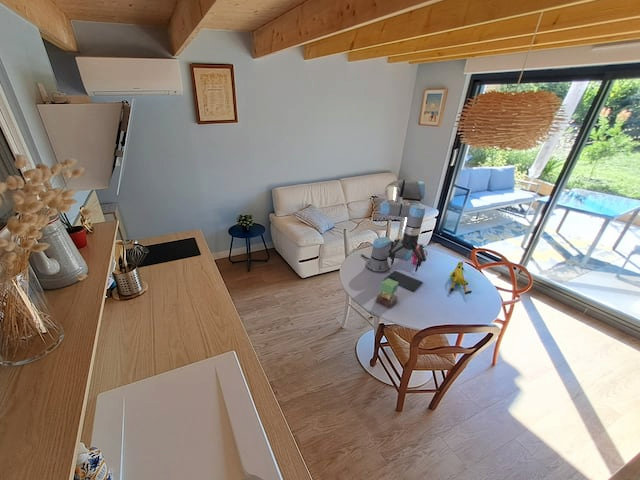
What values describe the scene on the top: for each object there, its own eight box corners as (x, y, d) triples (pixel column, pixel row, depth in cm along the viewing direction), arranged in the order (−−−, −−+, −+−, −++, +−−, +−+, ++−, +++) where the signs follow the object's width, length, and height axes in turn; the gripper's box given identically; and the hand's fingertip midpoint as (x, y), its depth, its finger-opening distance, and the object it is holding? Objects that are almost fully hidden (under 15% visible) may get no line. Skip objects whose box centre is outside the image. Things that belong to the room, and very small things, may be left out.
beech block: (381, 296, 176) (382, 290, 173) (385, 292, 179) (386, 287, 176) (389, 300, 173) (390, 294, 170) (393, 296, 176) (394, 290, 173)
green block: (380, 290, 173) (382, 282, 170) (386, 285, 178) (387, 277, 175) (391, 295, 169) (393, 287, 166) (396, 290, 173) (398, 282, 170)
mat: (385, 279, 198) (385, 278, 198) (394, 271, 207) (394, 270, 207) (413, 291, 186) (413, 290, 186) (422, 282, 195) (422, 282, 194)
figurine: (464, 282, 177) (462, 256, 199) (446, 288, 184) (446, 262, 206) (474, 295, 179) (471, 267, 200) (456, 300, 186) (455, 273, 208)
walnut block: (376, 301, 178) (377, 296, 176) (383, 295, 183) (384, 290, 181) (389, 308, 172) (390, 302, 170) (396, 301, 178) (397, 296, 176)
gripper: (386, 230, 160) (380, 263, 170) (435, 241, 148) (425, 276, 157) (390, 226, 166) (384, 259, 175) (437, 236, 153) (428, 271, 162)
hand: (403, 267), depth 166 cm, fingers open, 13 cm apart
